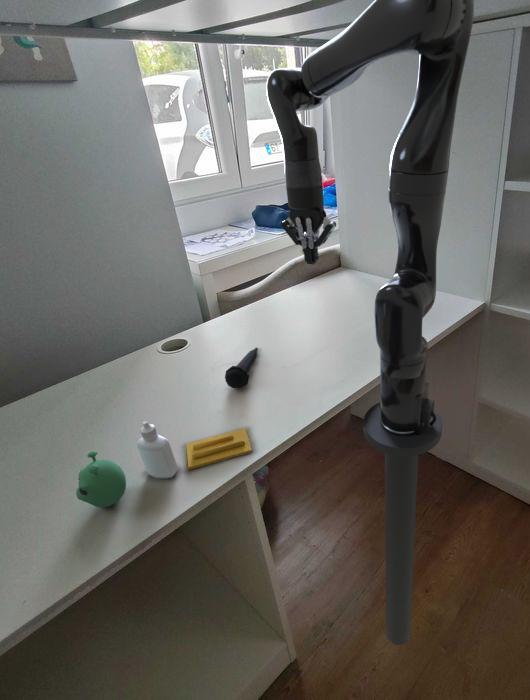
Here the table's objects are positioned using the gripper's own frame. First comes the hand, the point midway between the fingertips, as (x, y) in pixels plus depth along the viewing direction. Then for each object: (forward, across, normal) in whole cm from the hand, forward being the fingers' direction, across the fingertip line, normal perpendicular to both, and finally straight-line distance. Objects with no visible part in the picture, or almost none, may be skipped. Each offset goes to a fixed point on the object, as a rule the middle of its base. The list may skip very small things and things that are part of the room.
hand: (312, 263), depth 100 cm
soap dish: (+26, -5, -36) cm, 45 cm away
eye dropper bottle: (+27, -11, -44) cm, 53 cm away
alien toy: (+26, -15, -54) cm, 62 cm away
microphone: (+26, -16, -10) cm, 32 cm away
